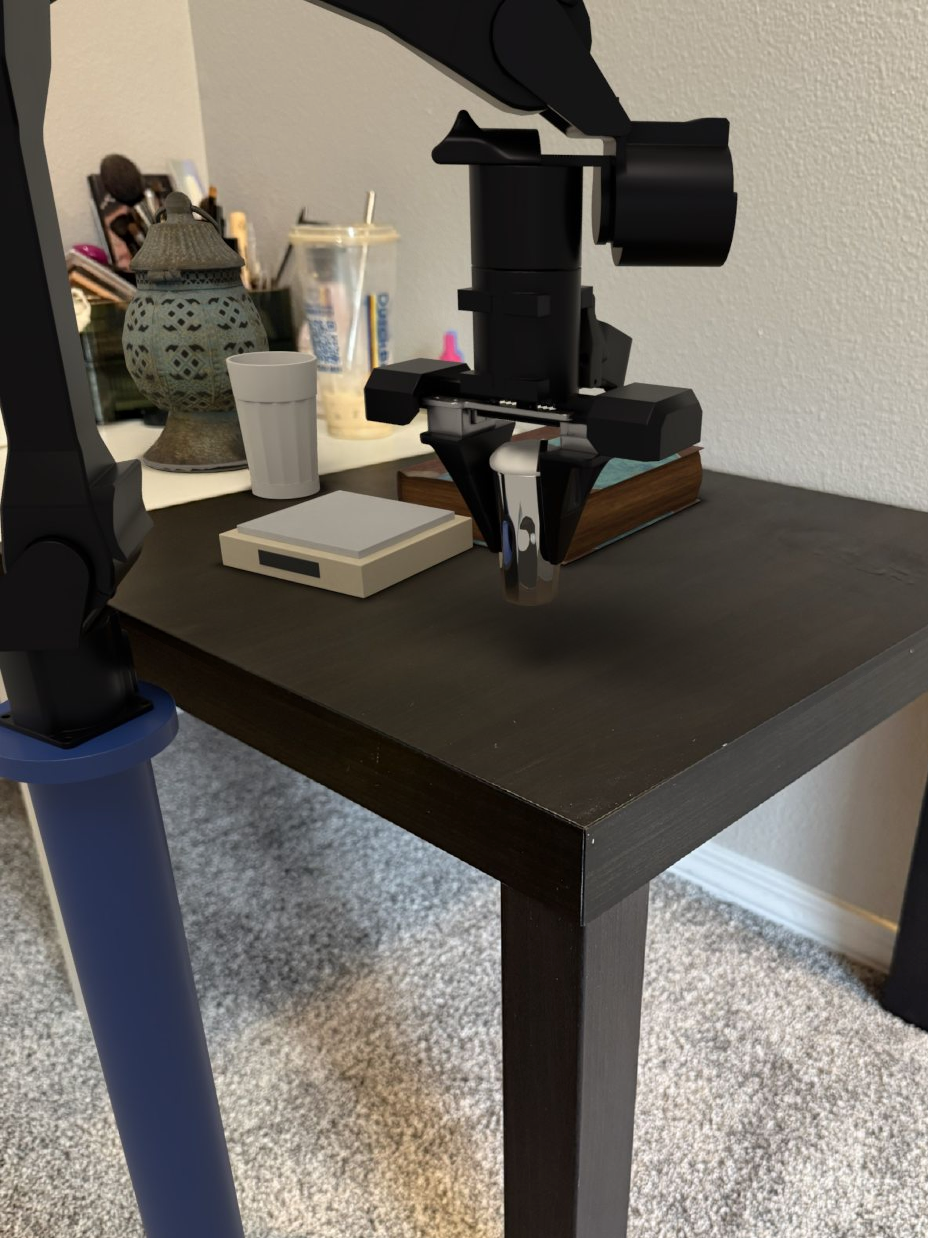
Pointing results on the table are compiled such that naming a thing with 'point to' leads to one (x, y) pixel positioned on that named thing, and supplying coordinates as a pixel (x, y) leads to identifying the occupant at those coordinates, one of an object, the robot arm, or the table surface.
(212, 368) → the lantern
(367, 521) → the scale
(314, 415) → the cup
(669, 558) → the table surface
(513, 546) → the milkshake
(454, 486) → the book
